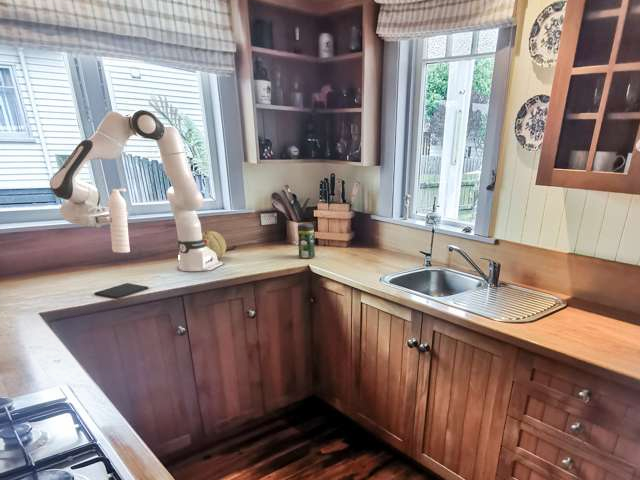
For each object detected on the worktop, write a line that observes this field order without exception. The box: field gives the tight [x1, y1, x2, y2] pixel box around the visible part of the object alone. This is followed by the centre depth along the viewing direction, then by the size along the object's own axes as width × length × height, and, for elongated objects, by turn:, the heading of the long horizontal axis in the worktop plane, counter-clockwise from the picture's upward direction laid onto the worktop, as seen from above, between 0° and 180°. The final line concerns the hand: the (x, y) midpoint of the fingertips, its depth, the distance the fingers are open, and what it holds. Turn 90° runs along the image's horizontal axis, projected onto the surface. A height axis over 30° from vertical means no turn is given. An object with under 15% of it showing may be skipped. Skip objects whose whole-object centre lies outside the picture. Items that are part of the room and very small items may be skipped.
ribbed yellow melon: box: [202, 230, 227, 259], centre depth 247 cm, size 15×15×15 cm
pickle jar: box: [297, 222, 316, 260], centre depth 257 cm, size 10×8×19 cm
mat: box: [94, 282, 149, 299], centre depth 194 cm, size 16×12×1 cm
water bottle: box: [107, 187, 131, 254], centre depth 192 cm, size 9×6×25 cm
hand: (118, 219), depth 190 cm, fingers closed on water bottle, 6 cm apart
